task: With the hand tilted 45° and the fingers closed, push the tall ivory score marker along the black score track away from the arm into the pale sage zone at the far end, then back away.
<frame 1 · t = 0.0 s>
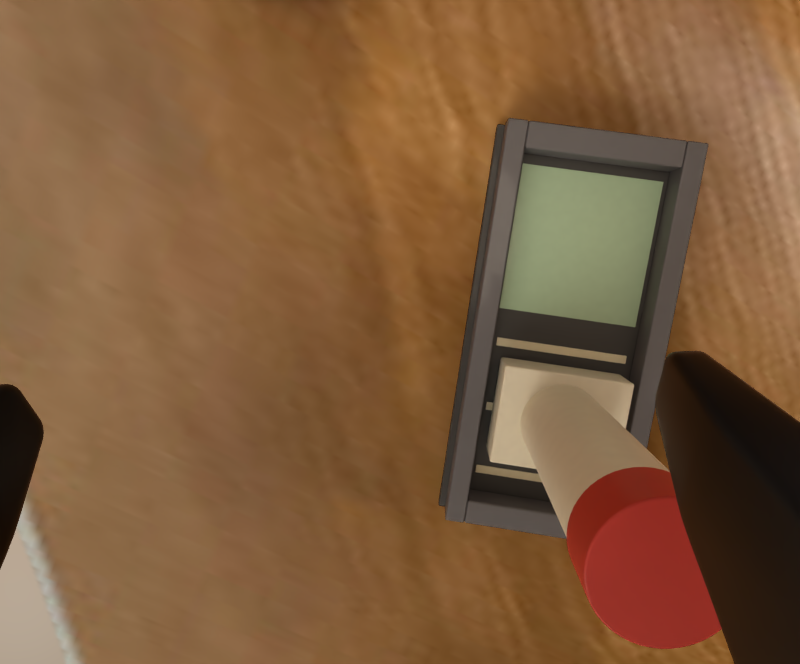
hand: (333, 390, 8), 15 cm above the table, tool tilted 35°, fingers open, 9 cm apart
score track: (561, 335, 23), on the table
score marker: (590, 465, 17), point 7 cm above the table, slide at 1.5 cm
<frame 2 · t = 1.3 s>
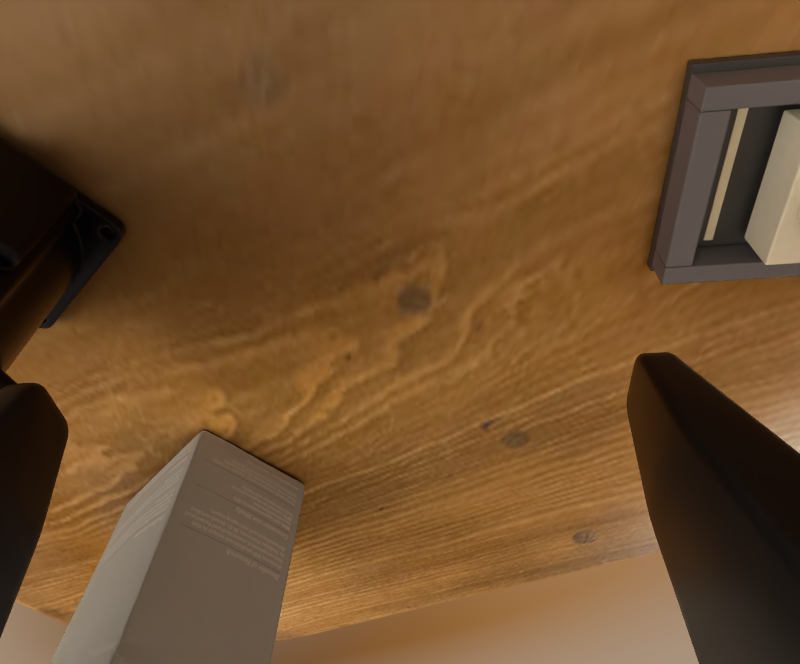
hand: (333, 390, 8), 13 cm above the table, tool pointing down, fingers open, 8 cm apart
cosmetic box: (213, 482, 32), on the table
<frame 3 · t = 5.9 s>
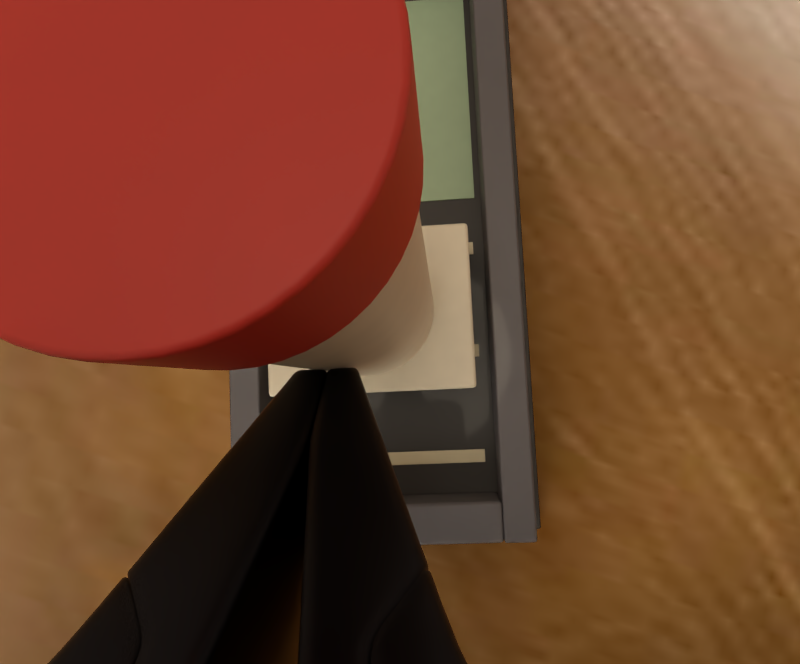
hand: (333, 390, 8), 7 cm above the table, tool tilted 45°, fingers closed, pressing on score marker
score track: (376, 238, 16), on the table
score marker: (331, 274, 9), point 7 cm above the table, slide at 2.1 cm, touching gripper
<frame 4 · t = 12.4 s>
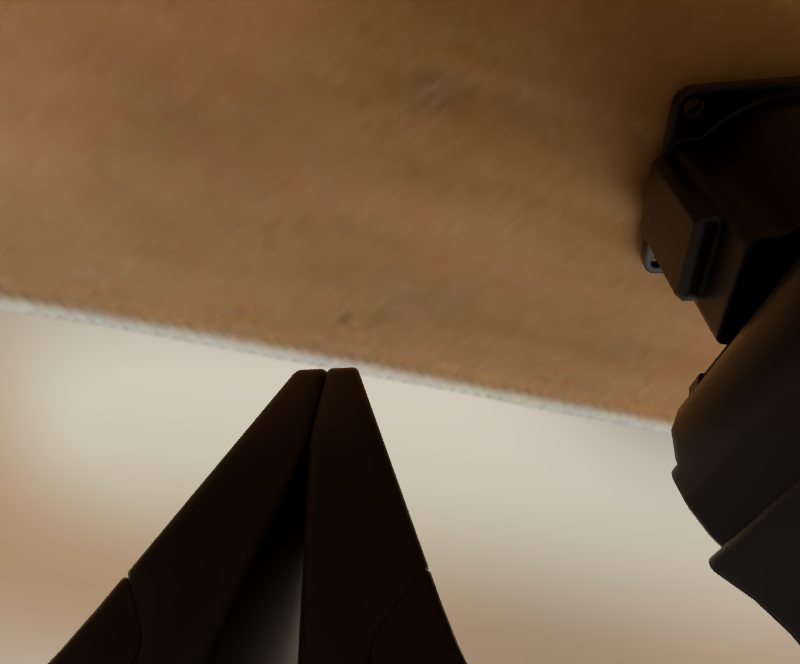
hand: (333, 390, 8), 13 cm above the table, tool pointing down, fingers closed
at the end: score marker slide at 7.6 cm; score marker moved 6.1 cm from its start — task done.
